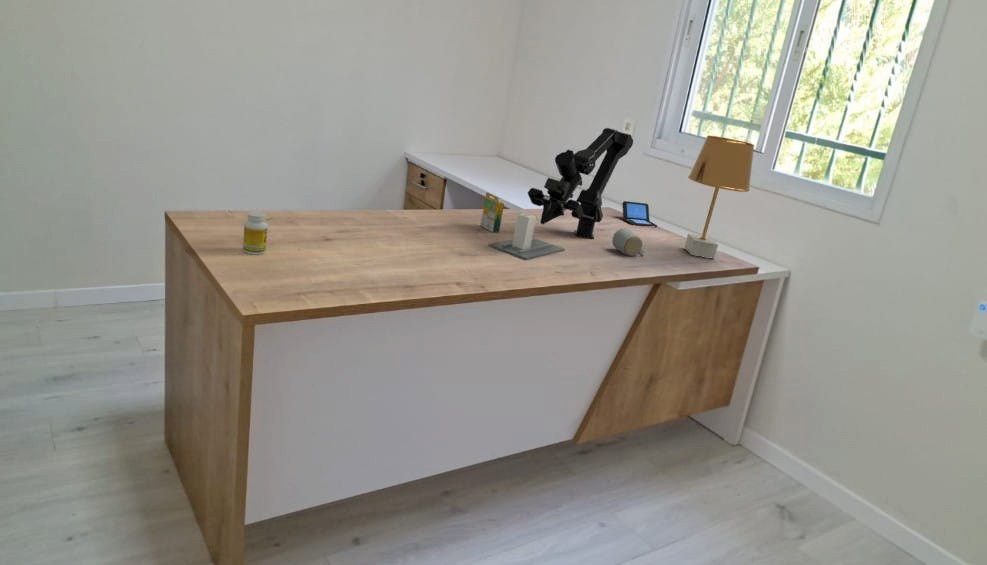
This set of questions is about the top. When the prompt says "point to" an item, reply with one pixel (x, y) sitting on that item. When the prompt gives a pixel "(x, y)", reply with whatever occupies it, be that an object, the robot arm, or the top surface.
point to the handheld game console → (636, 214)
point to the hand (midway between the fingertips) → (541, 223)
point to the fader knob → (524, 231)
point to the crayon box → (492, 213)
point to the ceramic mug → (627, 242)
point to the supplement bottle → (255, 234)
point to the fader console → (535, 250)
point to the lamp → (719, 180)
